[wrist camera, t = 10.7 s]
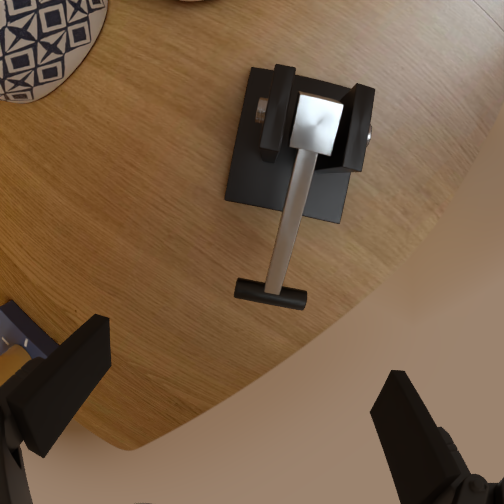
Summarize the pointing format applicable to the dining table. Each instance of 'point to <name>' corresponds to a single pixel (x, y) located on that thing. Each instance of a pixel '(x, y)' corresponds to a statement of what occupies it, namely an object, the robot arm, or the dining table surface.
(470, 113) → the dining table surface
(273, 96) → the black angular piece
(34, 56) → the planter
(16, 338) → the valve plate
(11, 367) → the valve knob
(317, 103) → the faucet lever
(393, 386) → the robot arm
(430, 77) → the dining table surface
